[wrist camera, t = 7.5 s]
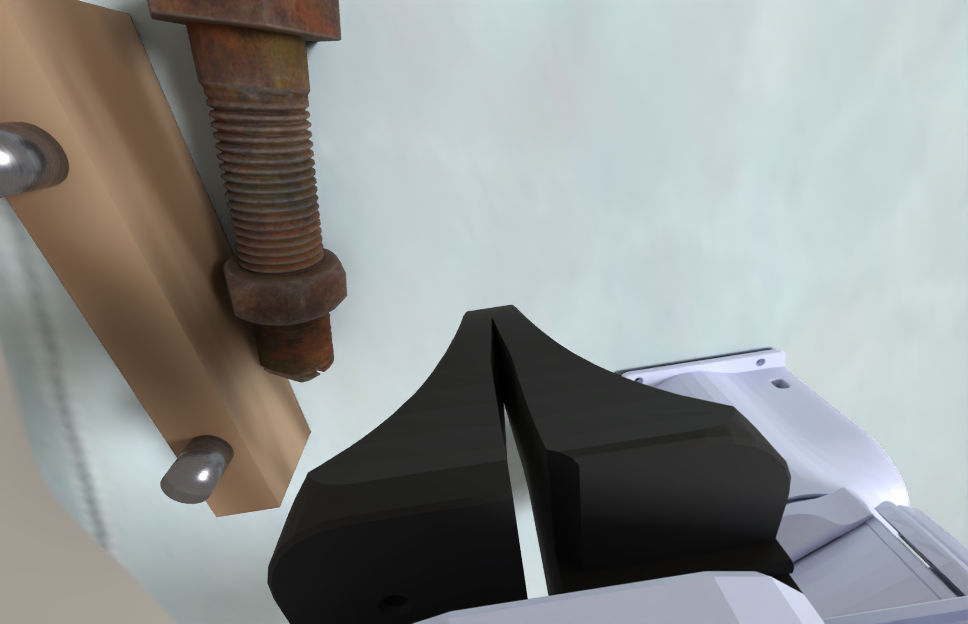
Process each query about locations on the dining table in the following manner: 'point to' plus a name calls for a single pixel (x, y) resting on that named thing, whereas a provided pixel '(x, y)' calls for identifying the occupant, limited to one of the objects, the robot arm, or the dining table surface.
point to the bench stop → (140, 247)
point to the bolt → (269, 169)
